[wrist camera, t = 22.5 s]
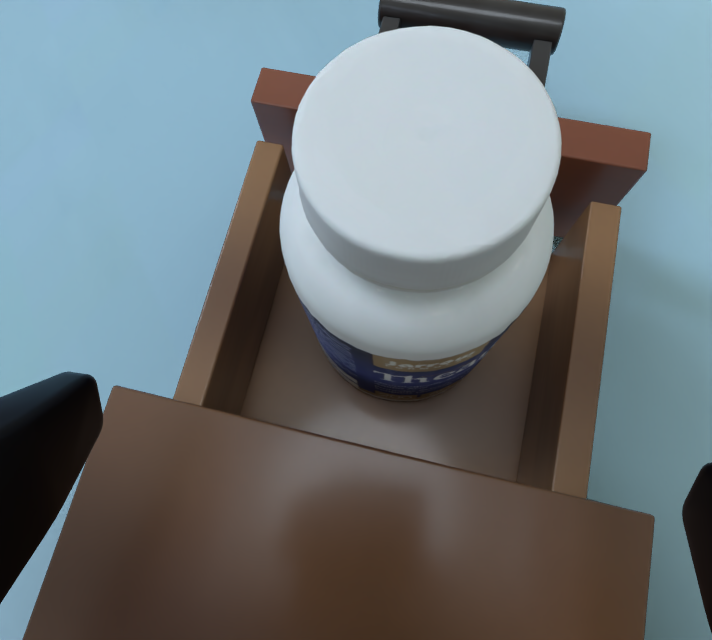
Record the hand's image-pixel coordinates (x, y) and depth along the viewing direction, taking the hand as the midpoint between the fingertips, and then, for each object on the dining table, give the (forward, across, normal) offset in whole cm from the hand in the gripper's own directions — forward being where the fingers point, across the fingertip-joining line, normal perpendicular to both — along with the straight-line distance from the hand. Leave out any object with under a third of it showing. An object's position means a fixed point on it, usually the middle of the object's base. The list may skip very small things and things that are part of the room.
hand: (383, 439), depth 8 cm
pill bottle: (+9, 0, +3) cm, 10 cm away
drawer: (+11, 0, +2) cm, 12 cm away
